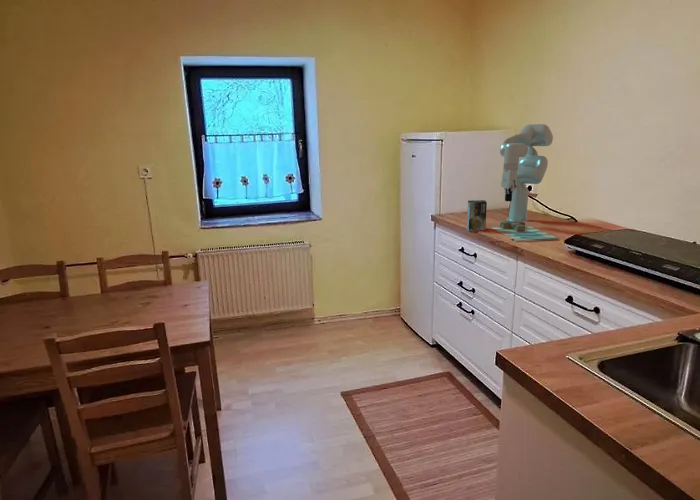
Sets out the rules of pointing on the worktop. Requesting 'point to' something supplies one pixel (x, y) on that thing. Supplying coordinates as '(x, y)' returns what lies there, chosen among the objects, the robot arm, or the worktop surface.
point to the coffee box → (476, 215)
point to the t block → (513, 226)
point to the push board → (526, 234)
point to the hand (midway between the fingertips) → (508, 201)
